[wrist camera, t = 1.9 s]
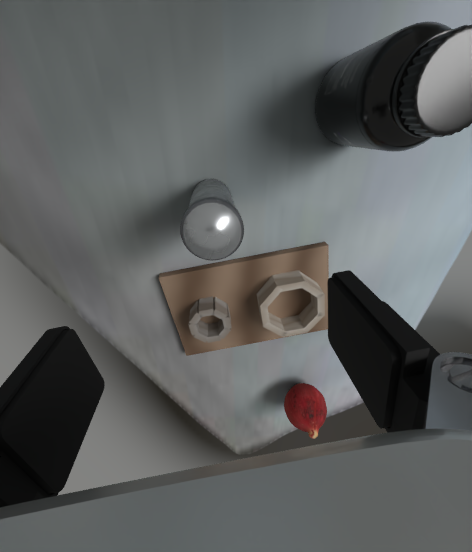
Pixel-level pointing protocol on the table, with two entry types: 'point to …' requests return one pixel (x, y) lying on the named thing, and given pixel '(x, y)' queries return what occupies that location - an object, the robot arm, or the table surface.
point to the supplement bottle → (400, 89)
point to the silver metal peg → (212, 222)
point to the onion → (305, 408)
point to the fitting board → (249, 298)
